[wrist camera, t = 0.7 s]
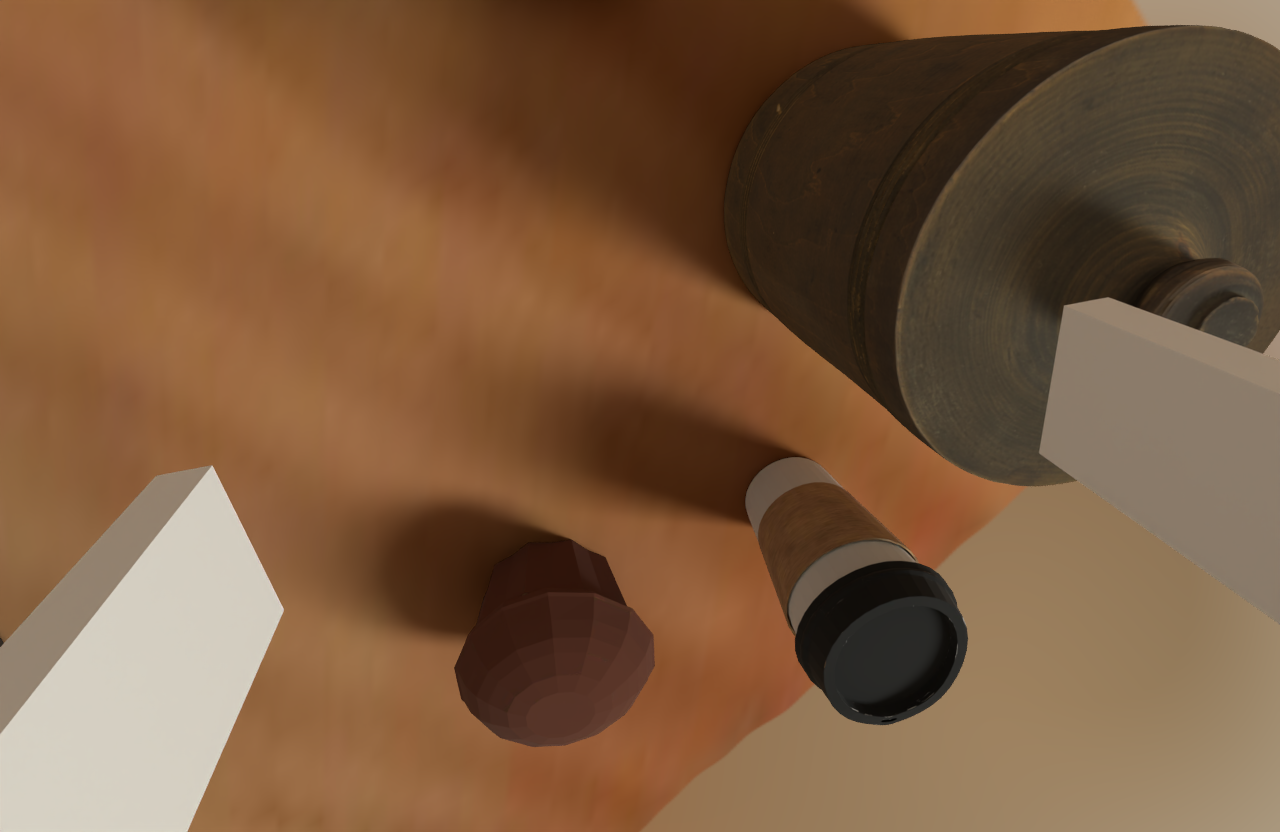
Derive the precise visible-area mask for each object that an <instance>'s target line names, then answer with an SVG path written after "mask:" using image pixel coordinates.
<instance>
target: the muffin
mask: <svg viewBox="0 0 1280 832" xmlns="http://www.w3.org/2000/svg"><path fill="white" fill-rule="evenodd" d="M654 666H655V662H654V639H653V634H652V633H651V631H650V630H649V629H648V628H647V626H646V625H645V624H644V623H643V621H642V620H641V619H640V618H639V616H638V615H637V614H636V612H635V611H634V610H633V609H632V608H630V607H628V606H627V605H626V603H625V601H624V599H623V596H622V594H621V592H620V589H619V587H618V585H617V583H616V580H615V578H614V576H613V574H612V571H611V569H610V567H609V565H608V562H607V560H606V558H605V557H603V556H601V555H598V554H596V553H594V552H591V551H589V550H587V549H585V548H584V547H582V546H581V545H579V544H577V543H576V542H574V541H573V540H566V541H559V542H552V543H527V544H526V545H525V546H524V547H522V548H521V549H520V550H519V551H517V552H516V553H515V554H514V555H512V556H510V557H508V558H507V559H505V560H503V561H501V562H499V563H498V564H496V565H495V566H494V569H493V573H492V576H491V580H490V583H489V587H488V590H487V592H486V594H485V596H484V599H483V602H482V606H481V610H480V613H479V617H478V620H477V624H476V626H475V627H474V628H473V630H472V631H471V632H470V633H469V635H468V637H467V639H466V642H465V644H464V646H463V649H462V651H461V653H460V656H459V658H458V660H457V663H456V665H455V667H454V669H455V674H456V678H457V682H458V687H459V691H460V695H461V699H462V700H463V701H464V702H465V703H466V705H467V707H468V708H469V710H470V712H471V713H472V714H473V715H474V716H475V717H476V718H478V719H479V720H480V721H481V722H482V723H483V724H484V725H485V726H487V727H488V728H489V729H490V730H491V731H492V732H493V733H495V734H496V735H497V736H499V737H500V738H503V739H506V740H510V741H513V742H517V743H520V744H524V745H527V746H532V747H541V746H562V745H568V744H571V743H574V742H577V741H580V740H583V739H586V738H589V737H592V736H594V735H597V734H599V733H600V732H602V731H603V730H604V729H606V728H607V727H608V726H610V725H611V724H613V723H614V722H615V721H617V720H618V719H620V718H621V717H622V716H624V715H625V714H626V713H627V711H628V710H629V709H630V708H631V706H632V705H633V703H634V701H635V700H636V698H637V696H638V695H639V693H640V691H641V690H642V688H643V686H644V685H645V683H646V682H647V680H648V677H649V675H650V673H651V672H652V670H653V668H654Z"/></svg>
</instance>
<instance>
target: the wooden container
mask: <svg viewBox="0 0 1280 832" xmlns="http://www.w3.org/2000/svg"><path fill="white" fill-rule="evenodd" d="M724 222H725V233H726V239H727V244H728V248H729V251H730V254H731V257H732V259H733V262H734V265H735V267H736V269H737V271H738V273H739V275H740V277H741V279H742V280H743V282H744V283H745V285H746V286H747V288H748V289H749V291H750V292H751V293H752V294H753V295H754V297H755V298H756V299H757V300H758V301H759V302H760V303H761V304H762V305H763V306H764V307H765V308H766V309H768V310H769V311H770V312H771V313H772V314H773V315H774V316H775V317H777V318H778V319H779V320H780V321H781V322H782V323H783V324H784V325H785V326H786V327H787V328H788V329H789V330H790V331H791V332H793V333H794V334H795V335H796V336H797V337H798V338H799V339H801V340H802V341H803V342H804V343H805V344H807V345H808V346H809V347H811V348H812V349H813V350H814V351H815V352H817V353H818V354H819V355H820V356H822V357H823V358H824V359H825V360H827V361H828V362H829V363H831V364H832V365H833V366H834V367H836V368H837V369H838V370H840V371H841V372H842V373H843V374H845V375H846V376H847V377H848V378H850V379H851V380H852V381H853V382H855V383H856V384H857V385H858V386H859V387H861V388H862V389H863V390H864V391H865V392H867V393H868V394H869V395H870V396H871V397H873V398H874V399H875V400H876V401H877V402H879V403H880V404H881V405H882V406H883V407H885V408H886V409H887V410H888V411H889V412H890V413H891V414H892V415H893V416H894V417H895V418H896V419H897V420H898V421H899V422H900V423H901V424H902V425H903V426H904V427H906V428H907V429H908V430H909V431H910V432H911V433H912V434H914V435H915V436H916V437H917V438H918V439H920V440H921V441H922V442H923V443H925V444H926V445H927V446H929V447H930V448H931V449H932V450H934V451H935V452H936V453H938V454H939V455H941V456H942V457H943V458H945V459H946V460H948V461H949V462H951V463H952V464H954V465H956V466H957V467H959V468H961V469H963V470H965V471H967V472H969V473H971V474H973V475H976V476H978V477H981V478H984V479H987V480H990V481H993V482H998V483H1005V484H1010V485H1018V486H1046V485H1055V484H1063V483H1068V482H1074V481H1077V480H1076V479H1074V478H1073V477H1072V476H1070V475H1069V474H1067V473H1066V472H1065V471H1063V470H1062V469H1060V468H1059V467H1058V466H1056V465H1055V464H1053V463H1052V462H1051V461H1049V460H1048V459H1046V458H1045V457H1044V456H1042V455H1041V454H1039V450H1040V444H1041V438H1042V432H1043V426H1044V420H1045V415H1046V409H1047V403H1048V397H1049V391H1050V385H1051V379H1052V373H1053V368H1054V362H1055V356H1056V350H1057V344H1058V338H1059V332H1060V326H1061V321H1062V315H1063V309H1064V305H1070V304H1075V303H1080V302H1086V301H1091V300H1096V299H1102V298H1107V297H1109V298H1112V299H1114V300H1117V301H1120V302H1122V303H1125V304H1128V305H1131V306H1133V307H1136V308H1139V309H1142V310H1144V311H1147V312H1150V313H1153V314H1155V315H1158V316H1161V317H1164V318H1166V319H1169V320H1172V321H1174V322H1177V323H1180V324H1183V325H1185V326H1188V327H1191V328H1194V329H1196V330H1199V331H1202V332H1205V333H1207V334H1210V335H1213V336H1216V337H1218V338H1221V339H1224V340H1227V341H1229V342H1232V343H1235V344H1237V345H1240V346H1243V347H1246V348H1248V349H1251V350H1254V351H1257V352H1259V353H1262V354H1263V353H1264V351H1265V350H1266V349H1267V347H1268V346H1269V345H1270V343H1271V342H1272V341H1273V339H1274V338H1275V336H1276V335H1277V333H1278V332H1279V330H1280V50H1278V49H1277V48H1276V47H1274V46H1273V45H1271V44H1269V43H1267V42H1265V41H1263V40H1261V39H1259V38H1256V37H1254V36H1252V35H1249V34H1246V33H1243V32H1240V31H1236V30H1230V29H1225V28H1221V27H1213V26H1198V25H1197V26H1195V25H1191V26H1190V25H1175V26H1174V25H1171V26H1142V27H1130V28H1119V29H1110V30H1099V31H1065V32H1039V33H1019V34H989V35H965V36H947V37H934V38H923V39H913V40H904V41H897V42H889V43H879V44H871V45H864V46H857V47H851V48H847V49H843V50H840V51H837V52H834V53H832V54H829V55H827V56H824V57H822V58H820V59H818V60H816V61H814V62H812V63H810V64H809V65H807V66H806V67H804V68H802V69H801V70H799V71H798V72H796V73H795V74H793V75H792V76H791V77H790V78H789V79H788V80H787V81H785V82H784V83H783V84H782V85H781V86H780V87H779V88H778V89H777V90H776V91H775V92H774V93H773V94H772V95H771V96H770V97H769V98H768V99H767V100H766V101H765V102H764V104H763V105H762V106H761V107H760V109H759V110H758V112H757V113H756V114H755V116H754V117H753V119H752V120H751V122H750V123H749V125H748V127H747V129H746V131H745V133H744V135H743V137H742V139H741V141H740V143H739V145H738V147H737V150H736V153H735V156H734V158H733V161H732V164H731V168H730V171H729V176H728V181H727V186H726V192H725V200H724Z"/></svg>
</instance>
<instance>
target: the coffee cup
mask: <svg viewBox="0 0 1280 832" xmlns="http://www.w3.org/2000/svg"><path fill="white" fill-rule="evenodd" d="M745 505H746V510H747V514H748V517H749V519H750V522H751V524H752V527H753V529H754V532H755V534H756V537H757V539H758V542H759V545H760V549H761V551H762V554H763V557H764V560H765V562H766V565H767V568H768V571H769V573H770V576H771V579H772V582H773V585H774V587H775V590H776V593H777V596H778V598H779V601H780V604H781V607H782V609H783V612H784V615H785V618H786V621H787V623H788V626H789V628H790V629H791V631H792V633H793V634H794V635H795V636H796V637H795V651H796V655H797V658H798V661H799V663H800V664H801V666H802V668H803V669H804V671H805V672H806V674H807V675H808V677H809V678H810V680H811V681H812V682H813V683H814V684H815V685H816V686H817V687H819V688H820V689H822V691H823V692H824V694H825V695H826V697H827V698H828V699H829V701H830V702H831V704H832V706H833V707H834V708H835V709H836V710H837V711H838V712H839V713H840V714H842V715H843V716H844V717H846V718H848V719H850V720H853V721H856V722H860V723H865V724H873V725H889V724H893V723H895V722H899V721H901V720H904V719H907V718H909V717H911V716H914V715H916V714H918V713H920V712H921V711H923V710H925V709H927V708H928V707H930V706H931V705H933V704H934V703H935V702H936V701H938V700H939V699H940V698H941V697H942V696H943V695H944V694H945V693H946V692H947V690H948V689H949V688H950V687H951V685H952V683H953V682H954V680H955V679H956V677H957V675H958V673H959V671H960V669H961V667H962V664H963V662H964V658H965V654H966V651H967V641H968V636H967V627H966V624H965V622H964V619H963V616H962V615H961V613H960V611H959V609H958V608H957V602H956V599H955V597H954V595H953V592H952V590H951V589H950V588H949V587H948V585H947V583H946V582H945V581H944V579H943V578H942V577H941V576H940V575H939V574H938V573H937V572H935V571H934V570H932V569H931V568H930V567H927V566H924V565H922V564H919V563H918V560H917V558H916V557H915V556H914V554H913V553H912V552H911V551H910V550H909V549H908V548H907V547H906V546H905V545H904V544H903V543H902V542H901V541H900V540H899V539H897V538H896V537H895V536H894V535H893V534H892V533H891V532H890V531H889V530H888V529H887V528H886V527H885V526H884V525H883V524H882V523H880V522H879V521H878V520H877V519H876V518H875V517H874V516H873V515H872V514H871V513H870V512H869V511H868V510H867V509H866V508H865V507H863V506H862V505H861V504H860V503H859V502H858V501H857V500H856V499H855V498H854V497H853V496H852V495H851V494H850V493H849V492H847V491H846V490H845V489H844V488H843V487H842V486H841V485H840V484H839V483H838V482H837V481H836V480H835V479H834V478H833V477H832V476H831V475H830V474H829V473H828V472H827V471H826V470H825V469H824V468H823V467H822V466H820V465H819V464H817V463H816V462H815V461H812V460H810V459H806V458H801V457H790V458H785V459H781V460H778V461H776V462H773V463H772V464H770V465H768V466H766V467H765V468H764V469H763V470H761V471H760V472H759V473H758V474H757V475H756V476H755V477H754V479H753V480H752V482H751V484H750V485H749V488H748V490H747V493H746V499H745Z"/></svg>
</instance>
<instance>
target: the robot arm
mask: <svg viewBox="0 0 1280 832" xmlns="http://www.w3.org/2000/svg"><path fill="white" fill-rule="evenodd" d="M1039 454H1041V455H1042V456H1044V457H1045V458H1046V459H1048V460H1049V461H1051V462H1052V463H1053V464H1055V465H1056V466H1058V467H1059V468H1060V469H1062V470H1063V471H1065V472H1066V473H1067V474H1069V475H1070V476H1072V477H1073V478H1074V479H1076V480H1077V481H1079V482H1080V483H1082V484H1083V485H1084V486H1086V487H1087V488H1089V489H1090V490H1091V491H1093V492H1095V493H1096V494H1097V495H1099V496H1100V497H1101V498H1103V499H1104V500H1105V501H1107V502H1108V503H1110V504H1111V505H1113V506H1114V507H1115V508H1117V509H1118V510H1119V511H1121V512H1122V513H1124V514H1125V515H1127V516H1128V517H1130V518H1131V519H1132V520H1134V521H1135V522H1136V523H1138V524H1139V525H1141V526H1142V527H1144V528H1145V529H1146V530H1148V531H1149V532H1151V533H1152V534H1153V535H1155V536H1156V537H1157V538H1159V539H1161V540H1162V541H1163V542H1164V543H1166V544H1167V545H1169V546H1170V547H1172V548H1173V549H1174V550H1176V551H1177V552H1179V553H1180V554H1181V555H1183V556H1184V557H1186V558H1187V559H1188V560H1190V561H1191V562H1193V563H1194V564H1195V565H1197V566H1198V567H1200V568H1201V569H1202V570H1204V571H1205V572H1207V573H1208V574H1209V575H1211V576H1212V577H1214V578H1215V579H1216V580H1218V581H1219V582H1221V583H1222V584H1224V585H1225V586H1226V587H1228V588H1229V589H1231V590H1232V591H1234V592H1235V593H1236V594H1238V595H1239V596H1240V597H1242V598H1243V599H1245V600H1246V601H1247V602H1249V603H1250V604H1252V605H1253V606H1255V607H1256V608H1257V609H1259V610H1260V611H1262V612H1263V613H1264V614H1266V615H1267V616H1268V617H1270V618H1271V619H1273V620H1274V621H1276V622H1277V623H1279V624H1280V360H1279V359H1276V358H1273V357H1270V356H1268V355H1265V354H1262V353H1259V352H1257V351H1254V350H1251V349H1248V348H1246V347H1243V346H1240V345H1237V344H1235V343H1232V342H1229V341H1227V340H1224V339H1221V338H1218V337H1216V336H1213V335H1210V334H1207V333H1205V332H1202V331H1199V330H1196V329H1194V328H1191V327H1188V326H1185V325H1183V324H1180V323H1177V322H1174V321H1172V320H1169V319H1166V318H1164V317H1161V316H1158V315H1155V314H1153V313H1150V312H1147V311H1144V310H1142V309H1139V308H1136V307H1133V306H1131V305H1128V304H1125V303H1122V302H1120V301H1117V300H1114V299H1112V298H1109V297H1107V298H1102V299H1096V300H1091V301H1086V302H1080V303H1075V304H1070V305H1064V309H1063V315H1062V321H1061V326H1060V332H1059V338H1058V344H1057V350H1056V356H1055V362H1054V368H1053V373H1052V379H1051V385H1050V391H1049V397H1048V403H1047V409H1046V415H1045V420H1044V426H1043V432H1042V438H1041V444H1040V450H1039ZM283 611H284V609H283V607H282V605H281V603H280V601H279V599H278V597H277V595H276V593H275V591H274V589H273V587H272V585H271V583H270V581H269V579H268V577H267V575H266V573H265V571H264V569H263V567H262V565H261V563H260V561H259V559H258V557H257V555H256V553H255V551H254V549H253V546H252V544H251V542H250V540H249V538H248V536H247V534H246V532H245V530H244V528H243V526H242V524H241V522H240V520H239V518H238V516H237V514H236V512H235V510H234V508H233V506H232V504H231V502H230V500H229V498H228V496H227V494H226V492H225V490H224V488H223V486H222V484H221V482H220V480H219V478H218V476H217V474H216V472H215V470H214V468H213V466H206V467H201V468H196V469H190V470H185V471H180V472H174V473H169V474H164V475H158V476H156V477H155V478H154V479H153V480H152V481H151V482H150V483H149V484H148V485H147V487H146V488H145V489H144V490H143V491H142V492H141V493H140V494H139V495H138V496H137V498H136V499H135V500H134V501H133V502H132V503H131V504H130V505H129V506H128V507H127V509H126V510H125V511H124V512H123V513H122V514H121V515H120V516H119V517H118V518H117V520H116V521H115V522H114V523H113V524H112V525H111V526H110V527H109V528H108V529H107V531H106V532H105V533H104V534H103V535H102V536H101V537H100V538H99V539H98V540H97V542H96V543H95V544H94V545H93V546H92V547H91V548H90V549H89V550H88V551H87V553H86V554H85V555H84V556H83V557H82V558H81V559H80V560H79V561H78V562H77V564H76V565H75V566H74V567H73V568H72V569H71V570H70V571H69V572H68V573H67V575H66V576H65V577H64V578H63V579H62V580H61V581H60V582H59V583H58V584H57V586H56V587H55V588H54V589H53V590H52V591H51V592H50V593H49V594H48V595H47V597H46V598H45V599H44V600H43V601H42V602H41V603H40V604H39V605H38V606H37V608H36V609H35V610H34V611H33V612H32V613H31V614H30V615H29V616H28V617H27V619H26V620H25V621H24V622H23V623H22V624H21V625H20V626H19V627H18V628H17V630H16V631H15V632H14V633H13V634H12V635H11V636H10V637H9V638H8V639H7V641H6V642H5V643H3V641H2V640H1V638H0V832H187V831H188V828H189V826H190V824H191V822H192V819H193V817H194V815H195V812H196V810H197V808H198V806H199V803H200V801H201V799H202V796H203V794H204V792H205V790H206V787H207V785H208V783H209V780H210V778H211V776H212V774H213V771H214V769H215V767H216V764H217V762H218V760H219V758H220V755H221V753H222V751H223V748H224V746H225V744H226V742H227V739H228V737H229V735H230V732H231V730H232V728H233V726H234V723H235V721H236V719H237V716H238V714H239V712H240V709H241V707H242V705H243V703H244V700H245V698H246V696H247V693H248V691H249V689H250V687H251V684H252V682H253V680H254V677H255V675H256V673H257V671H258V668H259V666H260V664H261V661H262V659H263V657H264V655H265V652H266V650H267V648H268V645H269V643H270V641H271V639H272V636H273V634H274V632H275V629H276V627H277V625H278V623H279V620H280V618H281V616H282V613H283Z"/></svg>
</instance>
